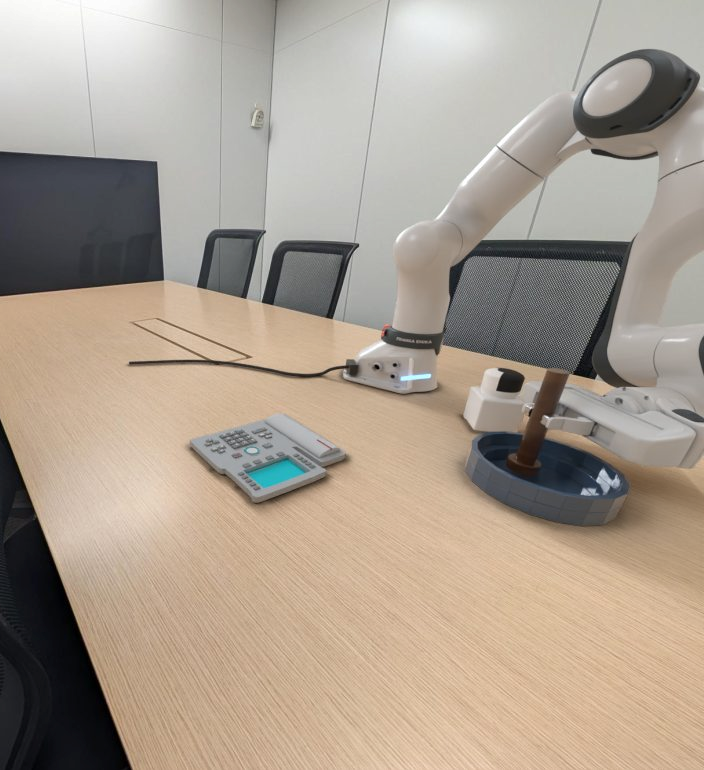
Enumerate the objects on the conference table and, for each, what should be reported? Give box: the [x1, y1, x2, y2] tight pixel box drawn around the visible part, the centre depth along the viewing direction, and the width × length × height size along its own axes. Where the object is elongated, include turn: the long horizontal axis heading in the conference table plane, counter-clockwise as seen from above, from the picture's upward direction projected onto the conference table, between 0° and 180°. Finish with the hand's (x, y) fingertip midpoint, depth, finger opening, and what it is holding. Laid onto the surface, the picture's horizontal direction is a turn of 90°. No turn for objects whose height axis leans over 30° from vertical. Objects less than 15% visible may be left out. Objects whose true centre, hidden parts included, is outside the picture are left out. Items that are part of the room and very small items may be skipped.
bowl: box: [464, 431, 632, 527], centre depth 57 cm, size 18×18×5 cm
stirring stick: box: [506, 367, 571, 476], centre depth 56 cm, size 4×4×17 cm
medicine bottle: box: [462, 367, 526, 433], centre depth 73 cm, size 7×7×12 cm
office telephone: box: [189, 413, 346, 504], centre depth 68 cm, size 23×3×20 cm
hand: (535, 415), depth 56 cm, fingers closed on stirring stick, 2 cm apart
